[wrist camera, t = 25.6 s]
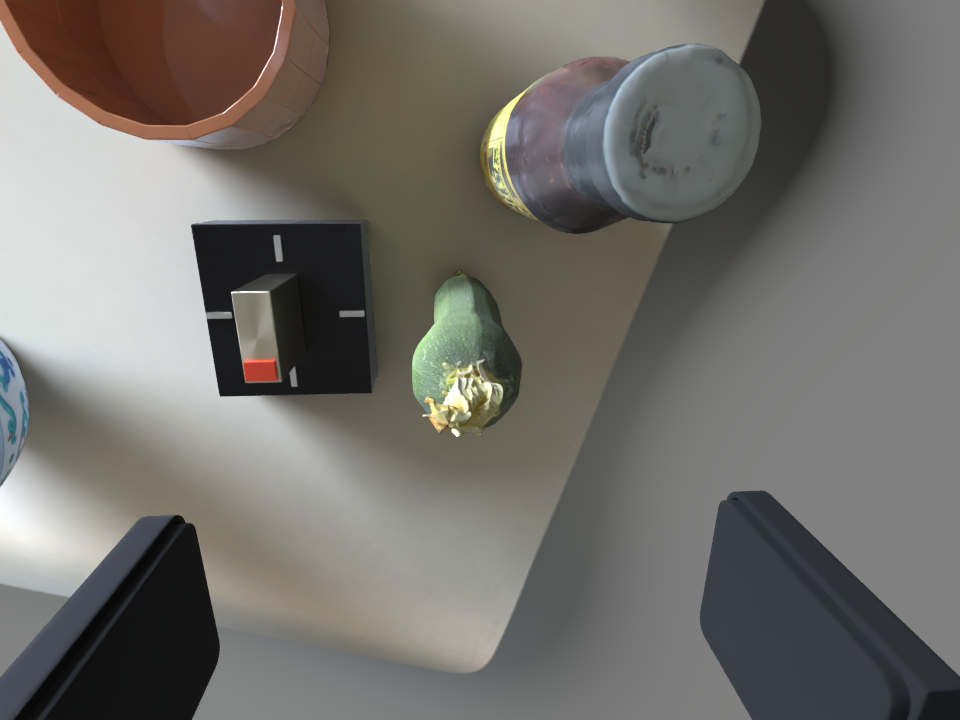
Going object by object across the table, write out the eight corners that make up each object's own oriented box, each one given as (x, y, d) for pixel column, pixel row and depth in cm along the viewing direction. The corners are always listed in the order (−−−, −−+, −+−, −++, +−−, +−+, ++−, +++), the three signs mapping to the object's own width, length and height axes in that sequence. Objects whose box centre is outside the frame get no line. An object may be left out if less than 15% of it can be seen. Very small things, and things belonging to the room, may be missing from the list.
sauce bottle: (456, 167, 31) (476, 142, 12) (524, 75, 30) (663, -111, 11) (540, 237, 33) (670, 311, 14) (608, 153, 31) (854, 109, 13)
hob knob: (264, 274, 29) (228, 292, 24) (298, 273, 29) (268, 292, 24) (275, 352, 31) (242, 385, 26) (306, 352, 31) (280, 384, 26)
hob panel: (213, 220, 31) (189, 224, 28) (367, 219, 32) (359, 223, 29) (237, 379, 34) (218, 398, 31) (377, 376, 35) (371, 394, 32)
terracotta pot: (64, -120, 26) (-68, -225, 19) (318, -112, 26) (276, -210, 20) (118, 149, 30) (23, 139, 23) (338, 150, 30) (308, 140, 24)
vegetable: (505, 309, 34) (582, 468, 15) (451, 346, 35) (459, 546, 16) (466, 252, 33) (495, 348, 14) (410, 292, 33) (363, 437, 14)
